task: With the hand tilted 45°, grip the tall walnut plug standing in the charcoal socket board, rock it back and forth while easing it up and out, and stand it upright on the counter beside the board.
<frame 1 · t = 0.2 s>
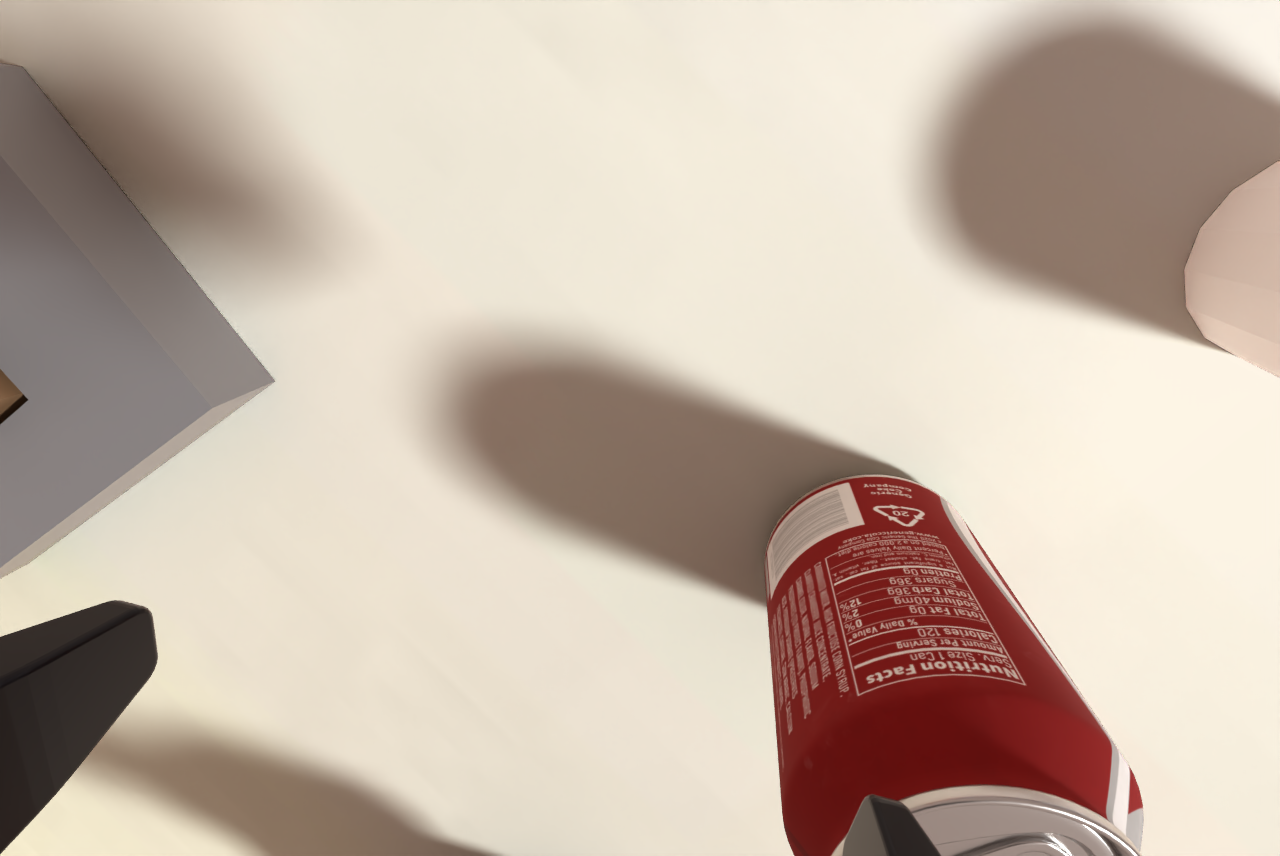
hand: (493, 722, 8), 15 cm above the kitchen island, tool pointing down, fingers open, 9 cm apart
socket board: (25, 353, 24), on the kitchen island
soda can: (861, 551, 23), on the kitchen island
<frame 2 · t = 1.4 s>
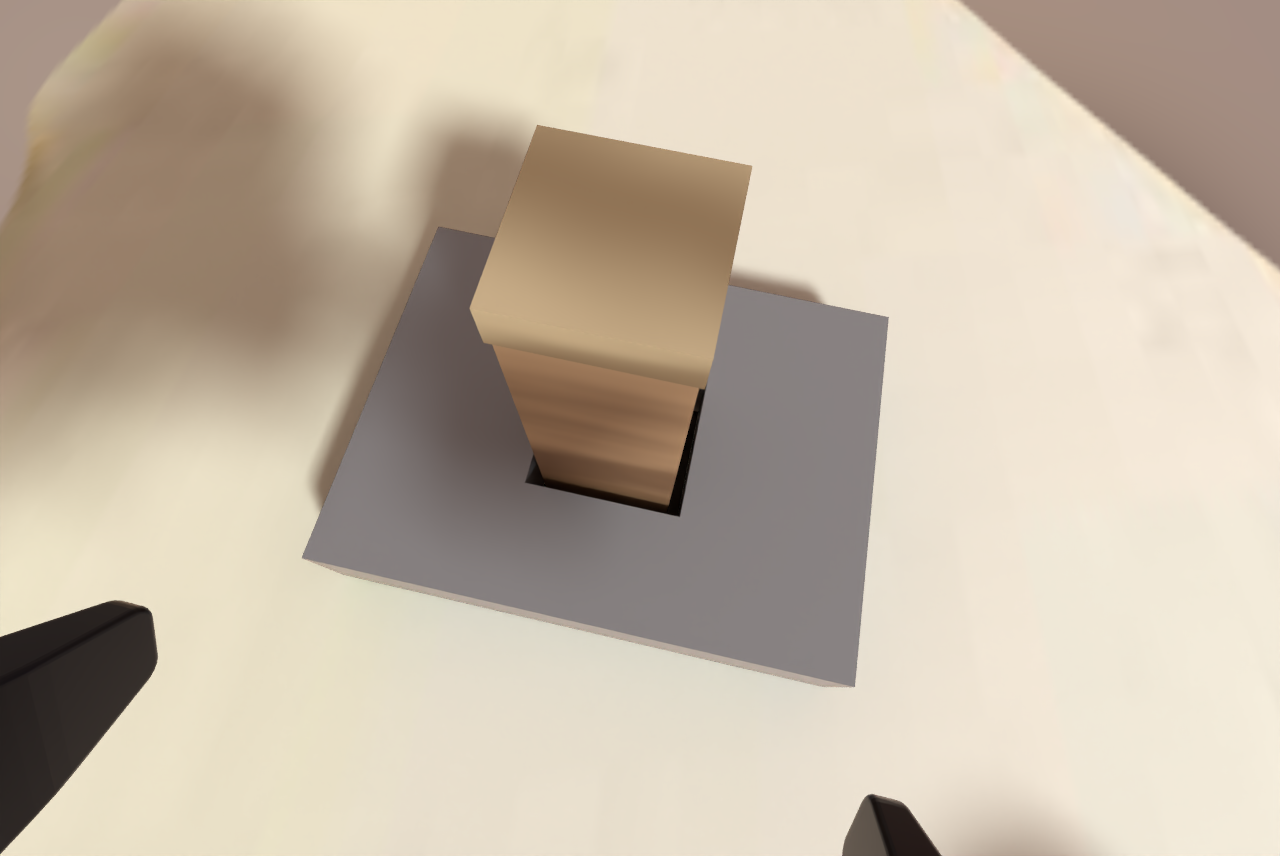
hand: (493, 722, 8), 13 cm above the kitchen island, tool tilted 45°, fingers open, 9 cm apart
socket board: (620, 458, 23), on the kitchen island
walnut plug: (619, 383, 17), in the socket board
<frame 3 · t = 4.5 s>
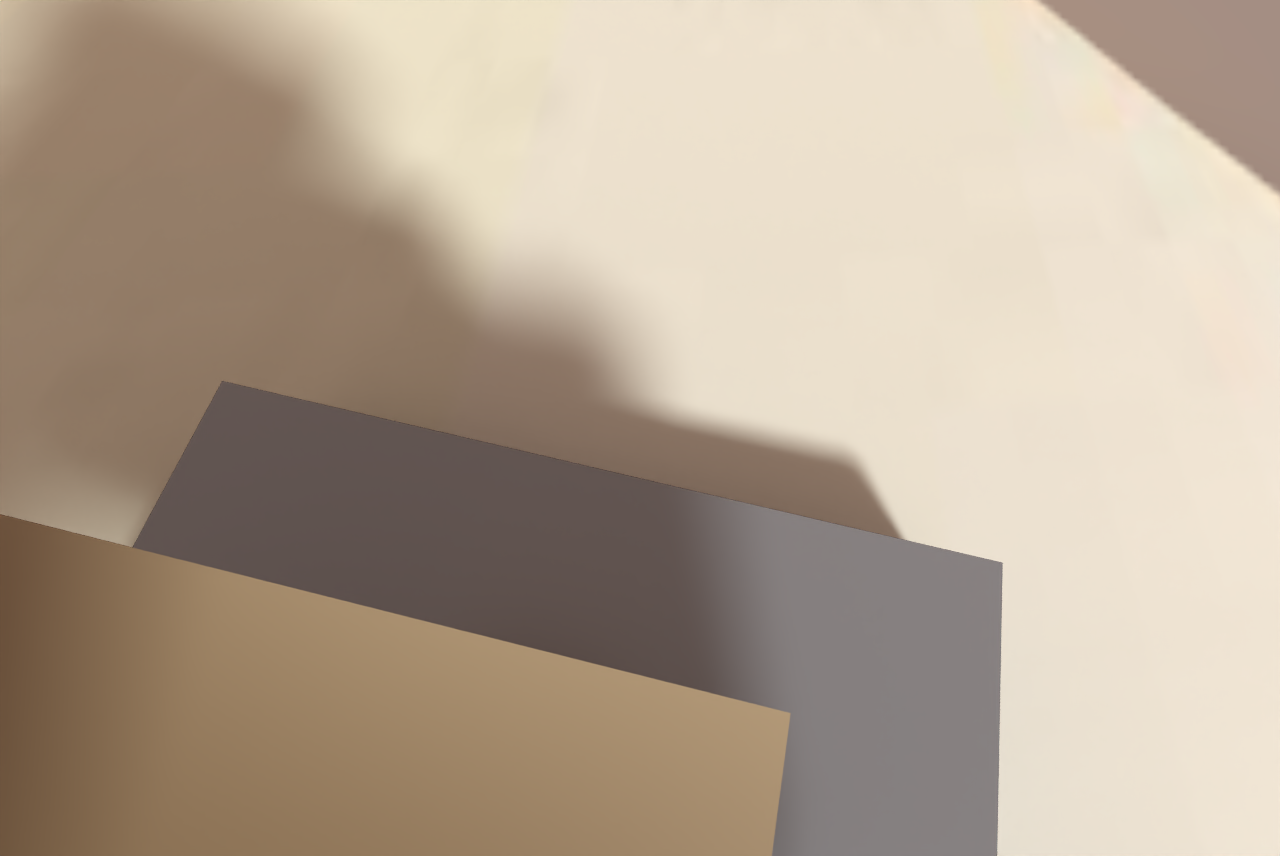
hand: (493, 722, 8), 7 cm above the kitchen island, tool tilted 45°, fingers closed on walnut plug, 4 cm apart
socket board: (529, 782, 13), on the kitchen island
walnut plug: (462, 845, 8), in the socket board, touching gripper
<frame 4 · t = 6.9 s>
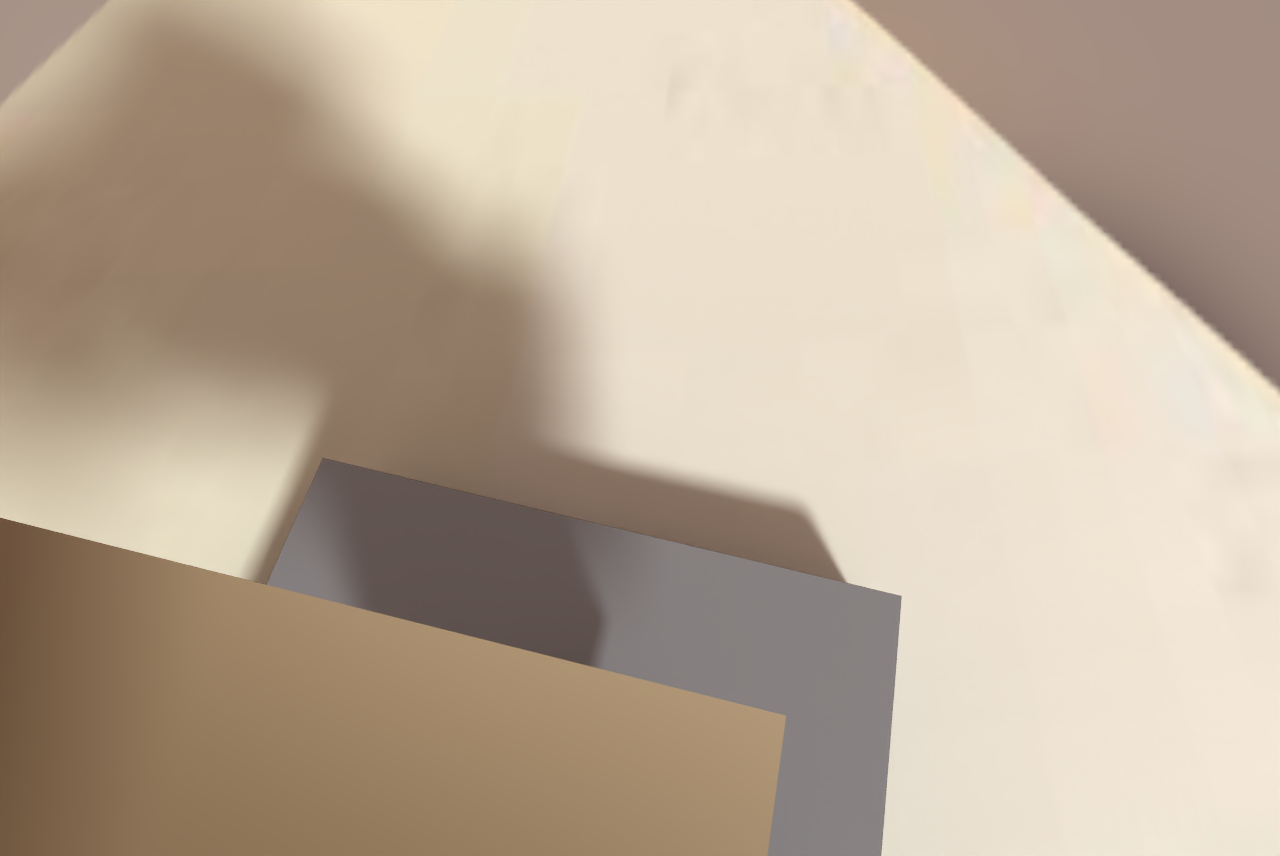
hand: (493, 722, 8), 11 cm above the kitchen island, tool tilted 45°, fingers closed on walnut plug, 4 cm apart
socket board: (552, 758, 18), on the kitchen island
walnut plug: (463, 844, 8), point 11 cm above the kitchen island, touching gripper
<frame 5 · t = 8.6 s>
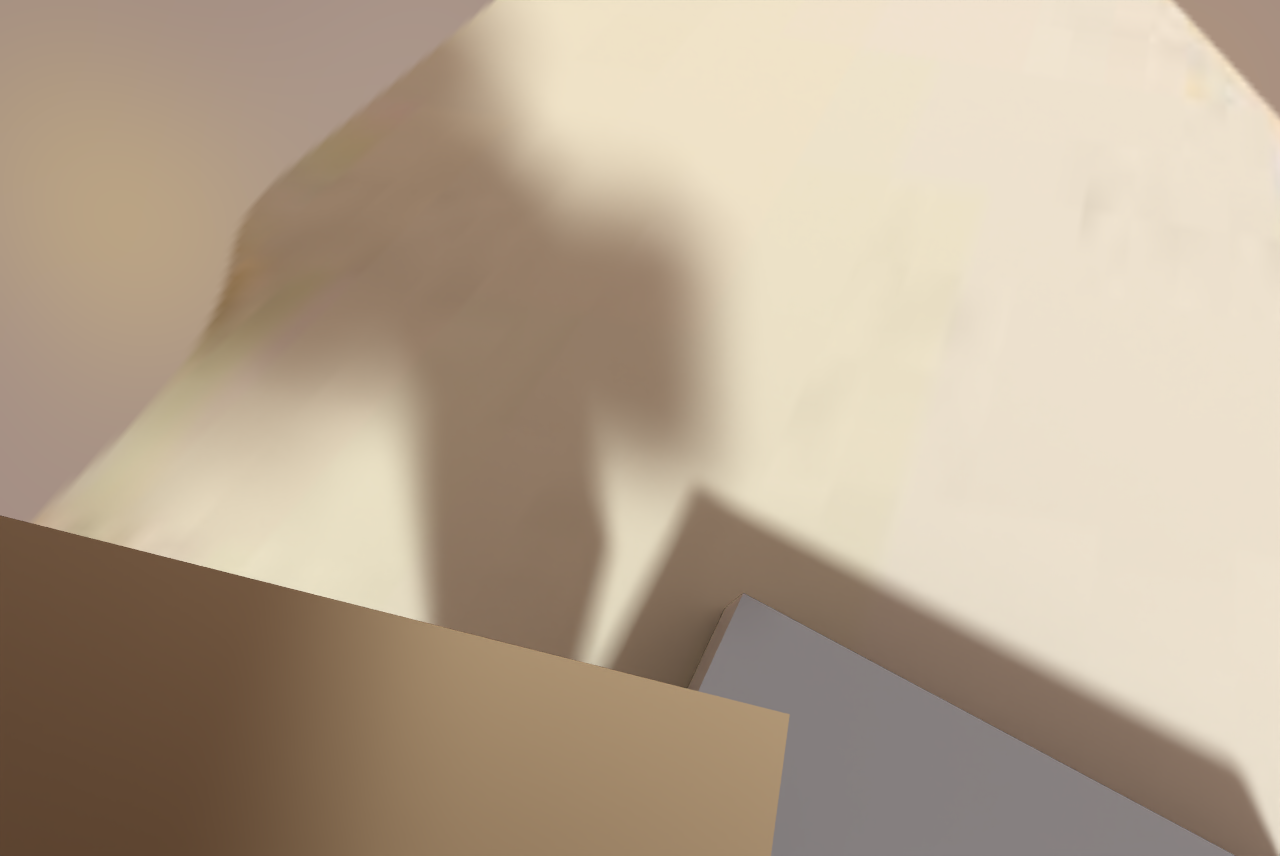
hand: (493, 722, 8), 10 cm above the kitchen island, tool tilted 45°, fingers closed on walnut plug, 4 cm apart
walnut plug: (464, 843, 8), point 10 cm above the kitchen island, touching gripper
when the fingers open (8 cm above the kitchen island, at t = 9.6 s): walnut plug drops 2 cm, on the kitchen island.
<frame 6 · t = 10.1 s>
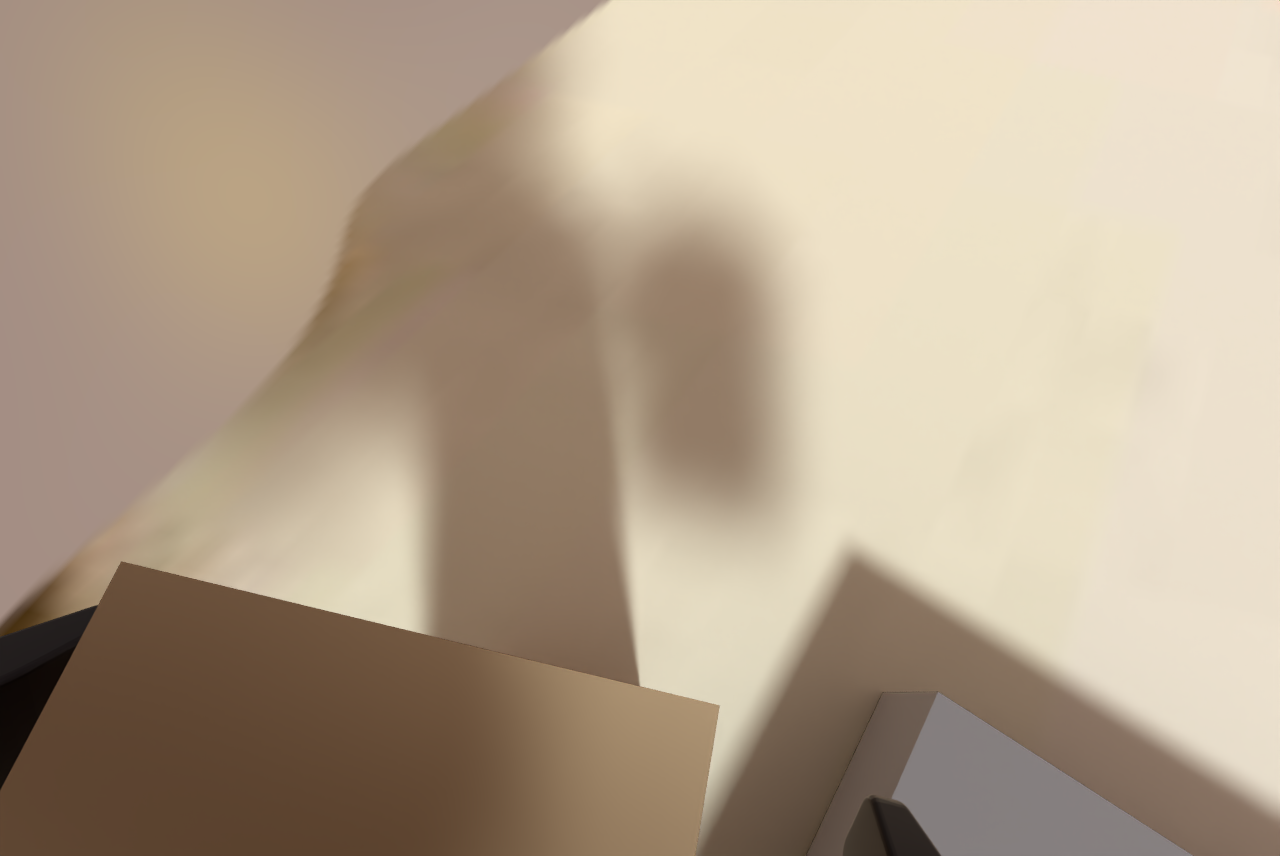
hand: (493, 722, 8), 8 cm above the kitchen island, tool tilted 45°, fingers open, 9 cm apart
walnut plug: (489, 819, 9), on the kitchen island
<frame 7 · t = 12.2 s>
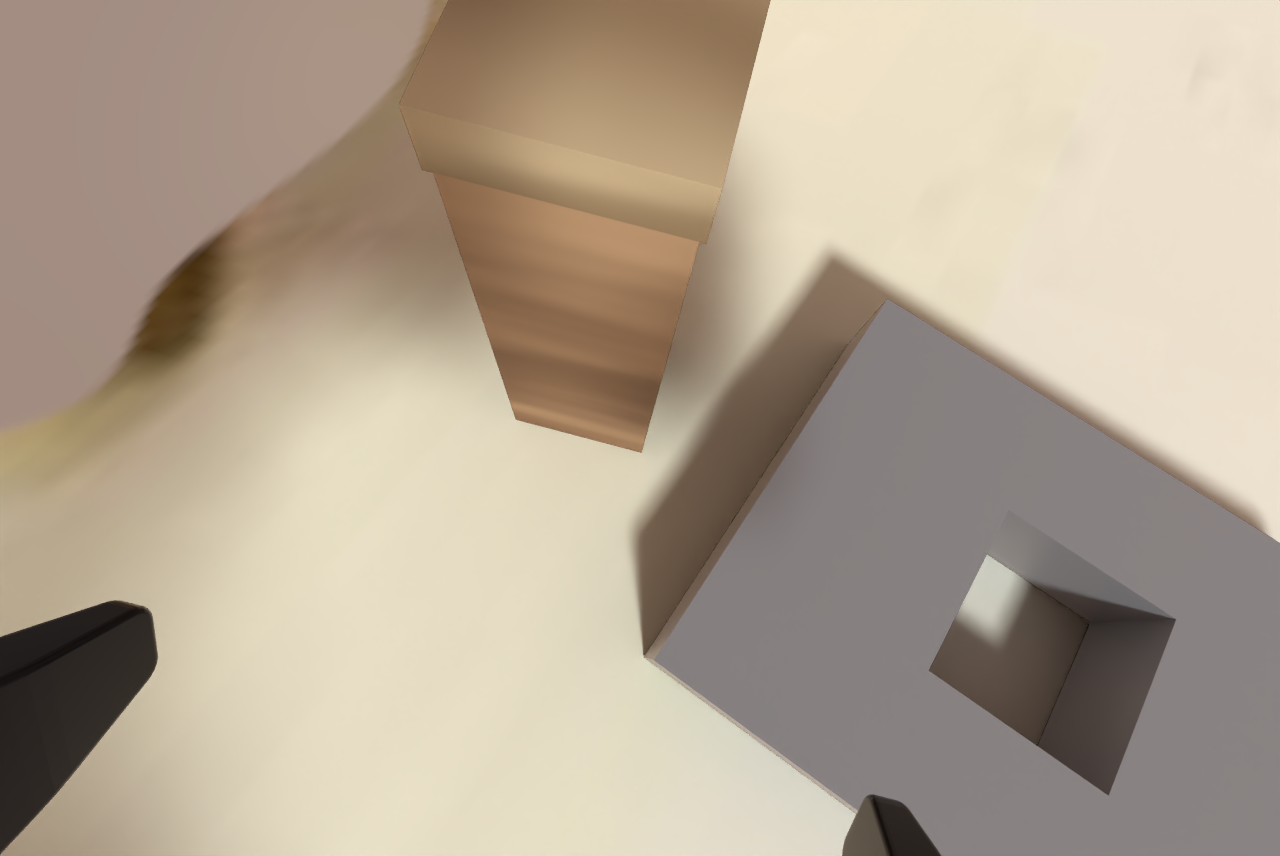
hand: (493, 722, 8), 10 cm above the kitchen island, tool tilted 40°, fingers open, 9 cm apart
socket board: (985, 643, 19), on the kitchen island
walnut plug: (598, 272, 15), on the kitchen island
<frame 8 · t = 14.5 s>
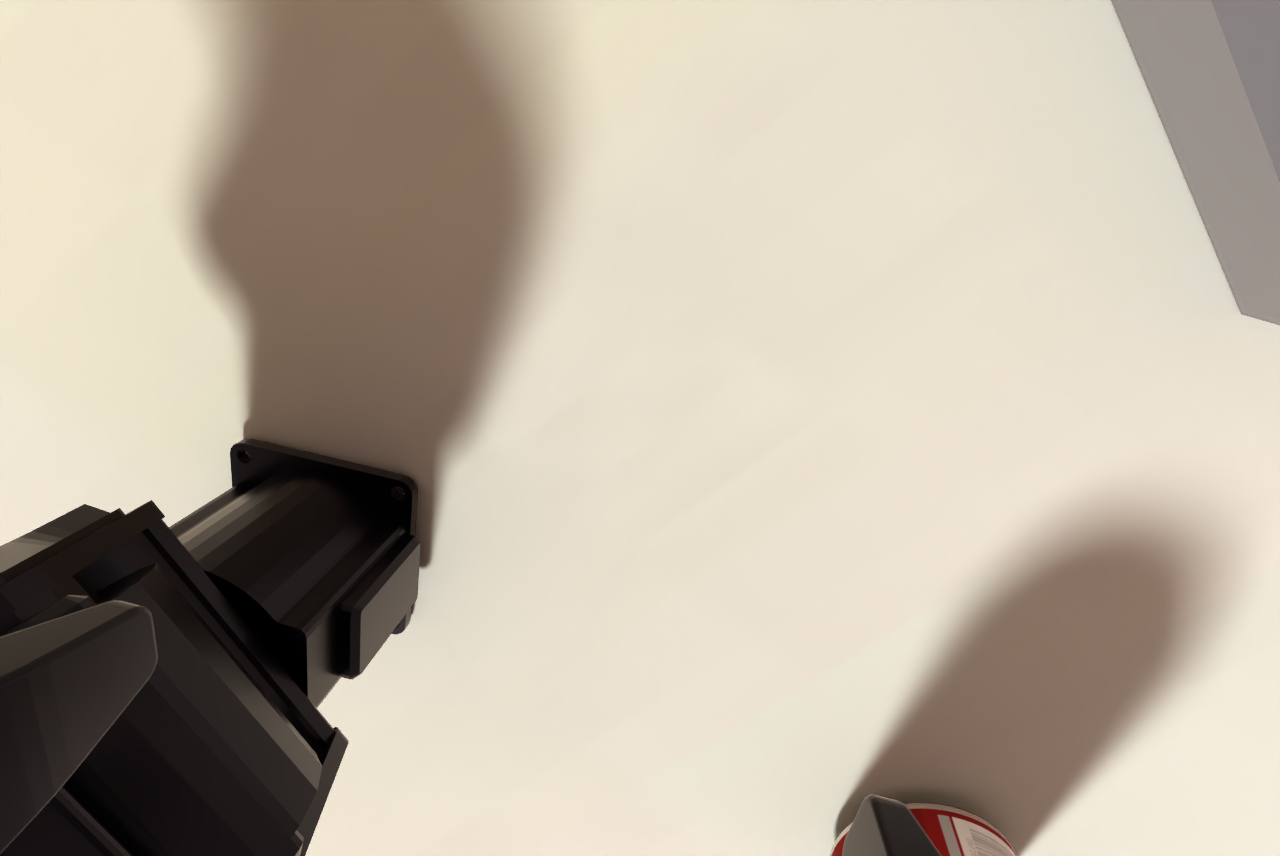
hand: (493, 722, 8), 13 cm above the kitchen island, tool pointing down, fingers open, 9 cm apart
soda can: (915, 845, 25), on the kitchen island
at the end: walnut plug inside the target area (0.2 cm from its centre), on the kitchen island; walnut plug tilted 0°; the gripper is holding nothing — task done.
